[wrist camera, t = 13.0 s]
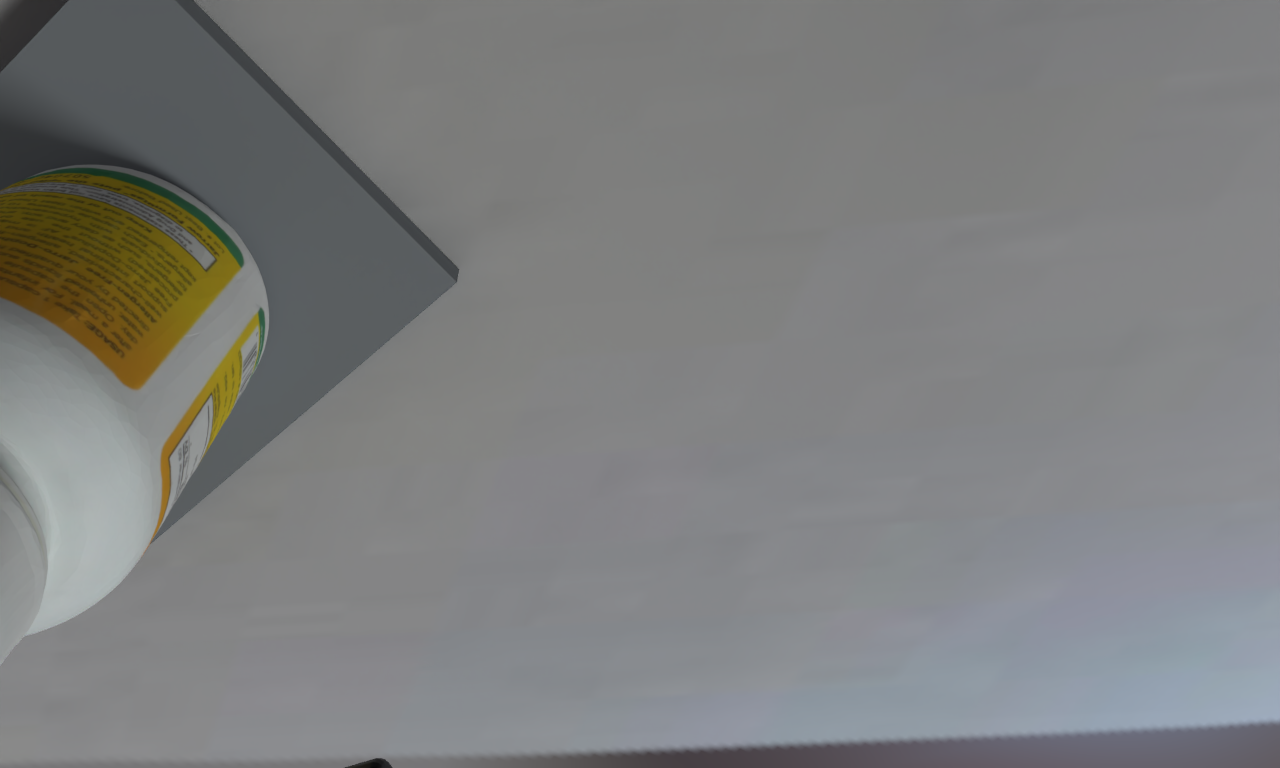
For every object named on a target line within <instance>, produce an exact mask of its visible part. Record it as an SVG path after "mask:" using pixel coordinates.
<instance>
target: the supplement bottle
mask: <svg viewBox="0 0 1280 768" xmlns="http://www.w3.org/2000/svg"><path fill="white" fill-rule="evenodd" d="M268 330H269V308H268V300H267V294H266V289H265V286H264V283H263V279H262V276H261V274H260V271H259V269H258V266H257V264H256V262H255V261H254V259H253V257H252V255H251V253H250V252H249V250H248V249H247V247H246V246H245V244H244V243H243V241H242V240H241V238H240V237H239V235H238V234H237V233H236V231H235V230H234V229H233V228H232V227H231V226H230V225H229V224H227V223H226V222H225V221H224V220H223V219H222V218H221V217H220V216H218V215H217V214H216V213H215V212H213V211H212V210H211V209H210V208H209V207H208V206H207V205H205V204H203V203H202V202H200V201H199V200H198V199H196V198H195V197H194V196H192V195H190V194H189V193H187V192H185V191H184V190H182V189H180V188H179V187H177V186H175V185H173V184H171V183H169V182H167V181H165V180H162V179H160V178H157V177H155V176H153V175H150V174H147V173H143V172H140V171H136V170H133V169H128V168H123V167H117V166H108V165H73V166H66V167H61V168H56V169H51V170H47V171H44V172H41V173H38V174H35V175H33V176H31V177H28V178H26V179H24V180H21V181H18V182H16V183H14V184H12V185H10V186H8V187H6V188H4V189H2V190H0V665H1V664H2V663H3V661H4V660H5V659H6V657H7V656H8V655H9V653H10V652H11V650H12V649H13V648H14V647H15V646H16V645H17V644H18V643H19V642H20V641H21V639H22V638H23V637H24V636H27V635H31V634H34V633H37V632H40V631H43V630H46V629H48V628H51V627H54V626H56V625H59V624H61V623H63V622H65V621H67V620H69V619H71V618H73V617H75V616H77V615H79V614H80V613H82V612H84V611H85V610H87V609H89V608H90V607H92V606H93V605H94V604H96V603H97V602H98V601H100V600H101V599H102V598H104V597H105V596H106V595H107V594H109V593H110V592H111V591H112V590H113V589H114V588H115V587H117V586H118V585H119V584H120V583H121V582H122V580H123V579H124V578H125V577H126V576H127V575H128V574H129V573H130V571H131V570H132V569H133V567H134V566H135V565H136V564H137V562H138V561H139V560H140V558H141V557H142V556H143V554H144V553H145V551H146V550H147V548H148V546H149V545H150V543H151V541H152V540H153V538H154V536H155V535H156V533H157V532H158V530H159V529H160V527H161V526H162V524H163V522H164V521H165V519H166V517H167V516H168V514H169V512H170V511H171V509H172V507H173V505H174V504H175V502H176V500H177V499H178V497H179V496H180V494H181V492H182V490H183V489H184V487H185V486H186V484H187V482H188V480H189V479H190V477H191V476H192V474H193V473H194V471H195V470H196V468H197V467H198V465H199V463H200V462H201V460H202V458H203V457H204V455H205V453H206V452H207V450H208V449H209V447H210V445H211V444H212V442H213V440H214V439H215V437H216V435H217V434H218V432H219V430H220V429H221V427H222V425H223V424H224V422H225V421H226V419H227V418H228V416H229V414H230V413H231V411H232V409H233V407H234V406H235V404H236V402H237V401H238V399H239V397H240V396H241V394H242V393H243V391H244V389H245V388H246V386H247V384H248V382H249V381H250V379H251V376H252V375H253V373H254V371H255V370H256V368H257V366H258V364H259V362H260V359H261V357H262V354H263V352H264V349H265V345H266V341H267V336H268Z"/></svg>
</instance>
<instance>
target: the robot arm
mask: <svg viewBox="0 0 1280 768" xmlns="http://www.w3.org/2000/svg"><path fill="white" fill-rule="evenodd" d="M345 768H392V766H391V765H390V764H389V762H387V761H386V760H385V759H382V758H376V759H372V760H369V761H366V762H362V763H359V764H355V765H352V766H349V767H345Z"/></svg>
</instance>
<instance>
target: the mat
mask: <svg viewBox="0 0 1280 768" xmlns="http://www.w3.org/2000/svg"><path fill="white" fill-rule="evenodd" d="M73 165H108V166H117V167H123V168H128V169H133V170H136V171H140V172H143V173H147V174H150V175H153V176H155V177H157V178H160V179H162V180H165V181H167V182H169V183H171V184H173V185H175V186H177V187H179V188H180V189H182V190H184V191H185V192H187V193H189V194H190V195H192V196H194V197H195V198H196V199H198V200H199V201H200V202H202V203H203V204H205V205H207V206H208V207H209V208H210V209H211V210H212V211H213V212H215V213H216V214H217V215H218V216H220V217H221V218H222V219H223V220H224V221H225V222H226V223H227V224H229V225H230V226H231V227H232V228H233V229H234V230H235V231H236V233H237V234H238V235H239V237H240V238H241V240H242V241H243V243H244V244H245V246H246V247H247V249H248V250H249V252H250V253H251V255H252V257H253V259H254V261H255V262H256V264H257V266H258V269H259V271H260V274H261V276H262V279H263V283H264V286H265V289H266V294H267V300H268V308H269V330H268V336H267V341H266V345H265V349H264V352H263V354H262V357H261V359H260V362H259V364H258V366H257V368H256V370H255V371H254V373H253V375H252V376H251V379H250V381H249V382H248V384H247V386H246V388H245V389H244V391H243V393H242V394H241V396H240V397H239V399H238V401H237V402H236V404H235V406H234V407H233V409H232V411H231V413H230V414H229V416H228V418H227V419H226V421H225V422H224V424H223V425H222V427H221V429H220V430H219V432H218V434H217V435H216V437H215V439H214V440H213V442H212V444H211V445H210V447H209V449H208V450H207V452H206V453H205V455H204V457H203V458H202V460H201V462H200V463H199V465H198V467H197V468H196V470H195V471H194V473H193V474H192V476H191V477H190V479H189V480H188V482H187V484H186V486H185V487H184V489H183V490H182V492H181V494H180V496H179V497H178V499H177V500H176V502H175V504H174V505H173V507H172V509H171V511H170V512H169V514H168V516H167V517H166V519H165V521H164V522H163V524H162V526H161V527H160V529H159V530H158V532H157V533H156V535H155V536H154V538H153V540H152V541H151V543H152V542H153V541H154V540H156V539H157V538H158V537H159V536H160V535H162V534H163V533H164V532H165V531H166V530H167V529H169V528H170V527H171V526H172V525H173V524H174V523H176V522H177V521H178V520H179V519H180V518H181V517H183V516H184V515H185V514H186V513H187V512H188V511H190V510H191V509H192V508H193V507H194V506H195V505H197V504H198V503H199V502H200V501H201V500H202V499H204V498H205V497H206V496H207V495H208V494H210V493H211V492H212V491H213V490H214V489H215V488H217V487H218V486H219V485H220V484H221V483H222V482H224V481H225V480H226V479H227V478H228V477H229V476H231V475H232V474H233V473H234V472H235V471H236V470H238V469H239V468H240V467H241V466H242V465H243V464H245V463H246V462H247V461H248V460H249V459H250V458H252V457H253V456H254V455H255V454H256V453H257V452H259V451H260V450H261V449H262V448H263V447H265V446H266V445H267V444H268V443H269V442H270V441H272V440H273V439H274V438H275V437H276V436H277V435H279V434H280V433H281V432H282V431H283V430H284V429H286V428H287V427H288V426H289V425H290V424H291V423H293V422H294V421H295V420H296V419H297V418H298V417H300V416H301V415H302V414H303V413H304V412H305V411H307V410H308V409H309V408H310V407H311V406H313V405H314V404H315V403H316V402H317V401H318V400H320V399H321V398H322V397H323V396H324V395H325V394H327V393H328V392H329V391H330V390H331V389H332V388H334V387H335V386H336V385H337V384H338V383H339V382H341V381H342V380H343V379H344V378H345V377H346V376H348V375H349V374H350V373H351V372H352V371H353V370H355V369H356V368H357V367H358V366H359V365H360V364H362V363H363V362H364V361H365V360H366V359H368V358H369V357H370V356H371V355H372V354H373V353H375V352H376V351H377V350H378V349H379V348H380V347H382V346H383V345H384V344H385V343H386V342H387V341H389V340H390V339H391V338H392V337H393V336H394V335H396V334H397V333H398V332H399V331H400V330H401V329H403V328H404V327H405V326H406V325H407V324H408V323H410V322H411V321H412V320H413V319H414V318H416V317H417V316H418V315H419V314H420V313H421V312H423V311H424V310H425V309H426V308H427V307H428V306H430V305H431V304H432V303H433V302H434V301H435V300H437V299H438V298H439V297H440V296H441V295H442V294H444V293H445V292H446V291H447V290H448V289H449V288H451V287H452V286H453V285H454V284H455V283H456V282H457V278H458V272H459V269H458V268H457V267H456V266H455V265H454V264H453V263H452V262H451V261H450V260H449V259H448V258H447V257H446V256H445V255H444V254H443V253H442V252H441V251H440V250H439V249H438V248H437V247H436V246H435V244H434V243H433V242H432V241H431V240H430V239H429V238H428V237H427V236H426V235H425V234H424V233H423V232H422V231H421V230H420V229H419V228H418V227H417V226H416V225H415V224H414V223H413V222H412V221H411V220H410V219H409V218H408V217H407V216H406V215H405V214H404V213H403V212H402V211H401V210H400V209H399V208H398V207H397V206H396V205H395V204H394V203H393V202H392V201H391V200H390V199H389V198H388V197H387V196H386V195H385V194H384V193H383V192H382V191H381V190H380V189H379V188H378V187H377V186H376V185H375V184H374V183H373V182H372V181H371V180H370V179H369V178H368V177H367V176H366V175H365V174H364V173H363V172H362V171H361V170H360V169H359V168H358V167H357V166H356V165H355V164H354V163H353V162H352V161H351V160H350V159H349V158H348V157H347V156H346V155H345V154H344V153H343V152H342V151H341V150H340V148H339V147H338V146H337V145H336V144H335V143H334V142H333V141H332V140H331V139H330V138H329V137H328V136H327V135H326V134H325V133H324V132H323V131H322V130H321V129H320V128H319V127H318V126H317V125H316V124H315V123H314V122H313V121H312V120H311V119H310V118H309V117H308V116H307V115H306V114H305V113H304V112H303V111H302V110H301V109H300V108H299V107H298V106H297V105H296V104H295V103H294V102H293V101H292V100H291V99H290V98H289V97H288V96H287V95H286V94H285V93H284V92H283V91H282V90H281V89H280V88H279V87H278V86H277V85H276V84H275V83H274V82H273V81H272V80H271V79H270V78H269V77H268V76H267V75H266V74H265V73H264V72H263V71H262V70H261V69H260V68H259V67H258V66H257V65H256V64H255V63H254V62H253V61H252V60H251V59H250V58H249V57H248V56H247V55H246V54H245V53H244V51H243V50H242V49H241V48H240V47H239V46H238V45H237V44H236V43H235V42H234V41H233V40H232V39H231V38H230V37H229V36H228V35H227V34H226V33H225V32H224V31H223V30H222V29H221V28H220V27H219V26H218V25H217V24H216V23H215V22H214V21H213V20H212V19H211V18H210V17H209V16H208V15H207V14H206V13H205V12H204V11H203V10H202V9H201V8H200V7H199V6H198V5H197V4H196V3H195V2H194V1H193V0H68V1H67V2H66V4H65V5H64V6H63V7H62V8H61V9H60V10H59V11H58V12H57V13H56V14H55V15H54V16H53V17H52V18H51V19H50V20H49V22H48V23H47V24H46V25H45V26H44V27H43V28H42V29H41V30H40V31H39V32H38V33H37V34H36V35H35V36H34V37H33V38H32V40H31V41H30V42H29V43H28V44H27V45H26V46H25V47H24V48H23V49H22V50H21V51H20V52H19V53H18V54H17V55H16V57H15V58H14V59H13V60H12V61H11V62H10V63H9V64H8V65H7V66H6V67H5V68H4V69H3V70H2V71H1V72H0V190H2V189H4V188H6V187H8V186H10V185H12V184H14V183H16V182H18V181H21V180H24V179H26V178H28V177H31V176H33V175H35V174H38V173H41V172H44V171H47V170H51V169H56V168H61V167H66V166H73ZM151 543H150V544H151Z"/></svg>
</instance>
